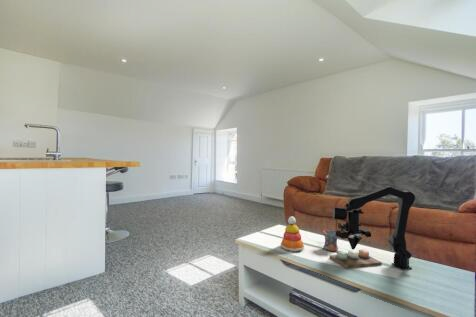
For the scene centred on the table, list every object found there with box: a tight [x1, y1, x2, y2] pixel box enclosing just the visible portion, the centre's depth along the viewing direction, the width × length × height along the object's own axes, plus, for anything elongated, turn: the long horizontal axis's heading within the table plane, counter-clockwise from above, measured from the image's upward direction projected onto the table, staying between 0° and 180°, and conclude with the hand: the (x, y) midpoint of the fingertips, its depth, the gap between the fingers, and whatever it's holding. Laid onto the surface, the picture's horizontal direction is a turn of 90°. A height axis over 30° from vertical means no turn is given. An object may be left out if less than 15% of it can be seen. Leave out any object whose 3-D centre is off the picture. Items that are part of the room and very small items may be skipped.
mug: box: [322, 229, 339, 252], centre depth 145 cm, size 12×9×11 cm
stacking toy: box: [280, 215, 305, 252], centre depth 144 cm, size 14×14×20 cm
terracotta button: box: [358, 249, 370, 258], centre depth 130 cm, size 5×5×2 cm
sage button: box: [336, 250, 348, 259], centre depth 126 cm, size 5×5×2 cm
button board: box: [329, 252, 383, 270], centre depth 127 cm, size 22×13×2 cm, turn 104°
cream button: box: [347, 249, 359, 258], centre depth 128 cm, size 5×5×2 cm
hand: (352, 249), depth 128 cm, fingers closed
